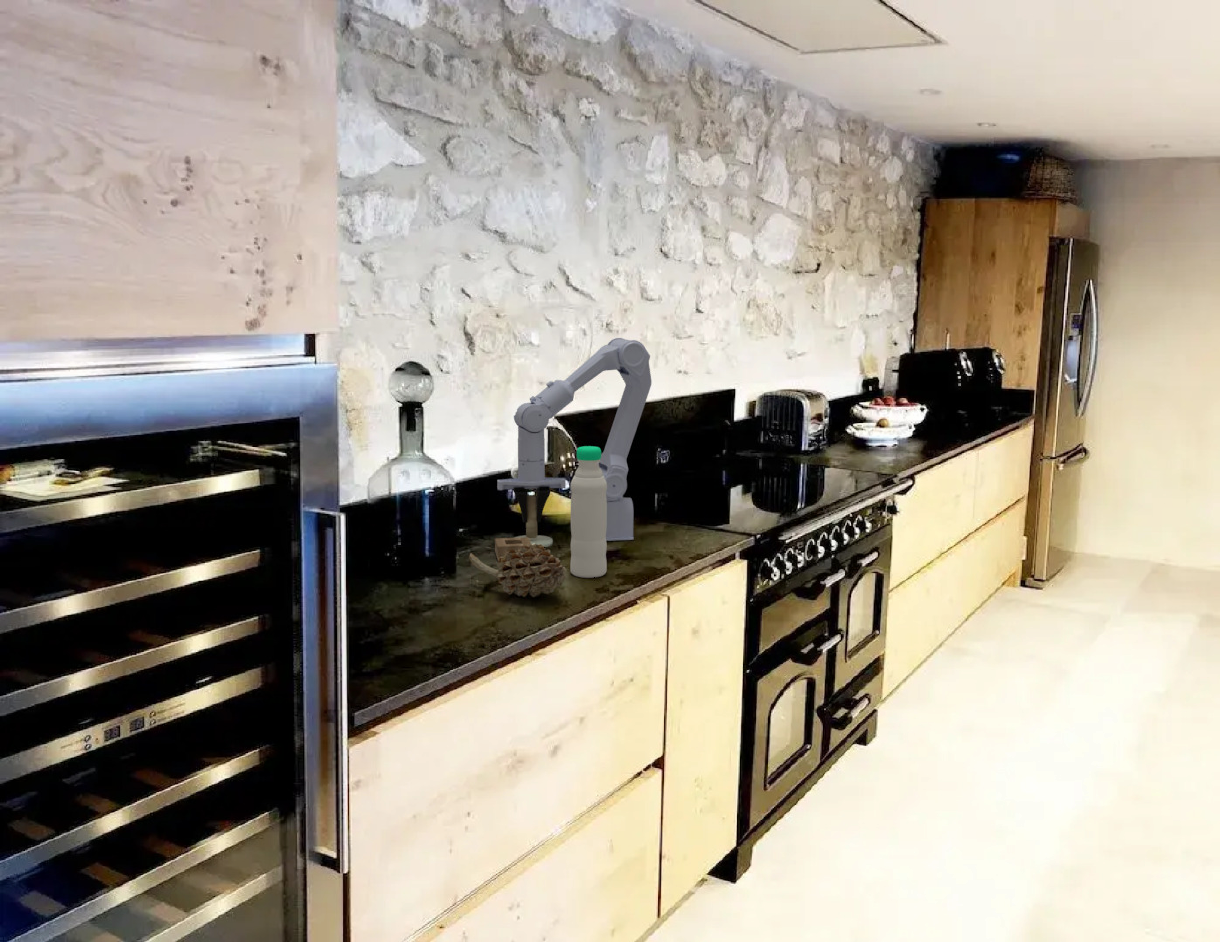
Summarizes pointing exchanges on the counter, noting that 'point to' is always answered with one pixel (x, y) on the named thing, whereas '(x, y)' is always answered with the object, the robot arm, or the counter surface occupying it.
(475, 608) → the counter surface
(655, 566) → the counter surface
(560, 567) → the pine cone
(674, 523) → the counter surface
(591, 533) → the water bottle
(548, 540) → the coaster
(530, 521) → the pin
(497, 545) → the holder
